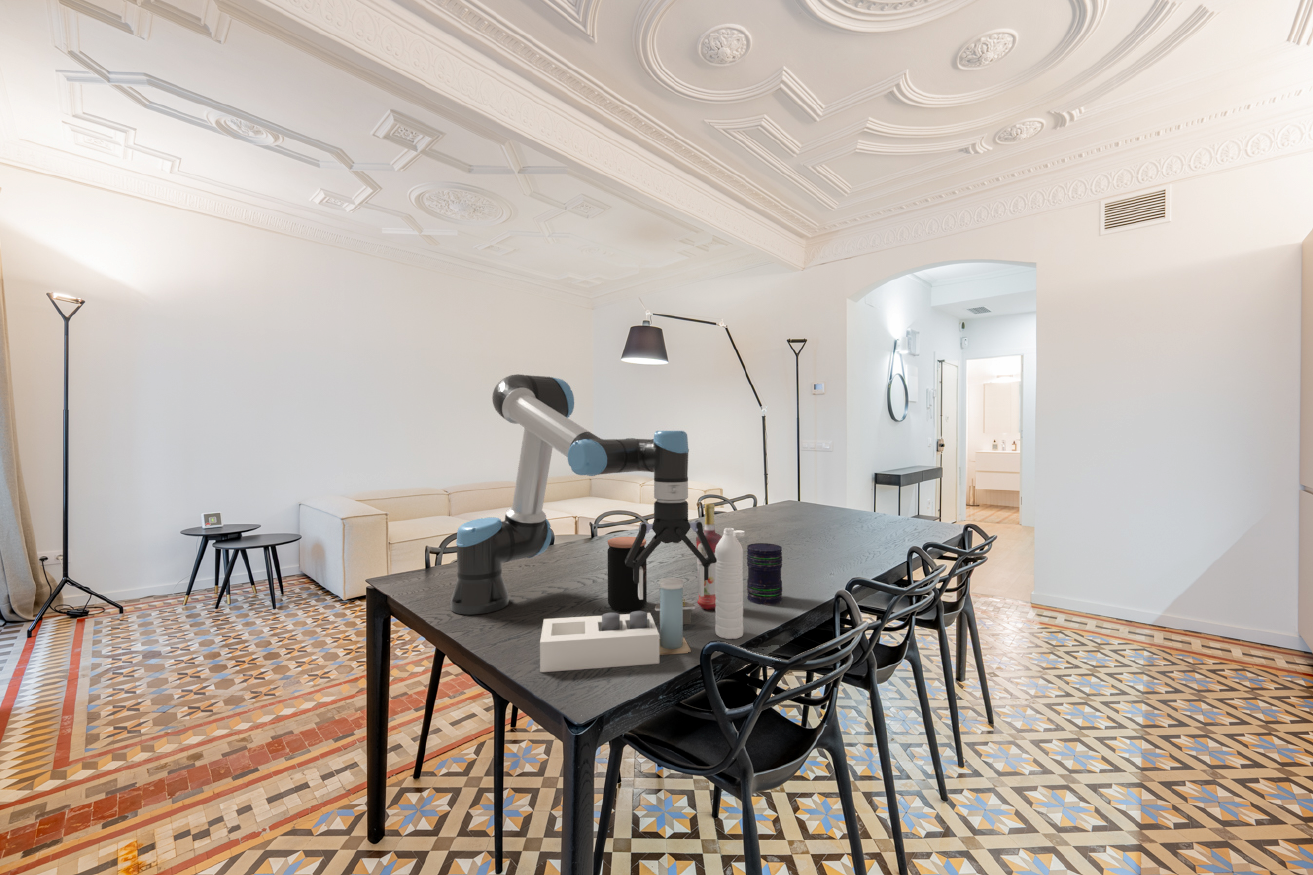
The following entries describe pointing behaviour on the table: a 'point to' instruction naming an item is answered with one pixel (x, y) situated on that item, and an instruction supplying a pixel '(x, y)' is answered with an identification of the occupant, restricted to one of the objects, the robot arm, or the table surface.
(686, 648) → the coaster
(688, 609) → the platform
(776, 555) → the storage jar
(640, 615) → the button
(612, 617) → the button
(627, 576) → the coffee jar
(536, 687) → the table surface
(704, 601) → the liquor
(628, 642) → the housing
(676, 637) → the cartridge
